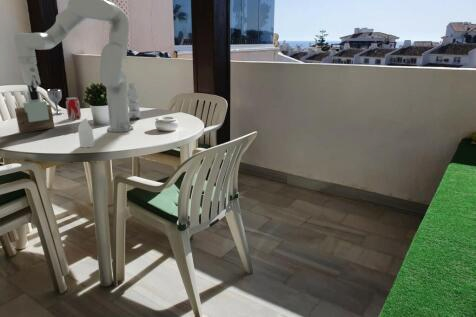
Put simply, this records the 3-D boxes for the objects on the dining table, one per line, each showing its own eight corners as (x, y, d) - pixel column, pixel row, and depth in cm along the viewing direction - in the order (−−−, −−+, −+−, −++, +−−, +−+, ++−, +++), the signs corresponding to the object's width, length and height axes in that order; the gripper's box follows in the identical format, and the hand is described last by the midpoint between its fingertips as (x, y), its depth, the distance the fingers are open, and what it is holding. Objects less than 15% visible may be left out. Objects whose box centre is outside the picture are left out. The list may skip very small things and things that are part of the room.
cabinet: (49, 119, 178) (44, 91, 174) (29, 122, 172) (24, 93, 167) (45, 117, 181) (41, 90, 177) (26, 120, 175) (21, 92, 171)
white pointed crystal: (73, 119, 147) (83, 116, 152) (77, 146, 151) (87, 143, 156) (84, 120, 145) (94, 118, 150) (87, 148, 149) (97, 145, 154)
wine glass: (51, 113, 223) (47, 89, 218) (65, 112, 225) (62, 88, 221) (49, 115, 216) (45, 90, 211) (63, 115, 218) (60, 90, 213)
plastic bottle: (136, 116, 213) (133, 83, 206) (143, 118, 209) (140, 83, 202) (126, 118, 208) (123, 84, 202) (133, 120, 204) (130, 84, 198)
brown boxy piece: (56, 128, 184) (53, 105, 180) (22, 133, 173) (17, 109, 169) (49, 125, 191) (45, 103, 187) (15, 130, 180) (11, 106, 176)
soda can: (76, 120, 204) (73, 99, 200) (65, 119, 205) (62, 98, 202) (83, 117, 211) (81, 97, 207) (73, 117, 212) (70, 97, 208)
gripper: (41, 60, 165) (48, 100, 171) (30, 59, 175) (37, 97, 181) (23, 61, 160) (31, 102, 166) (13, 60, 170) (20, 98, 176)
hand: (34, 99), depth 173 cm, fingers closed
